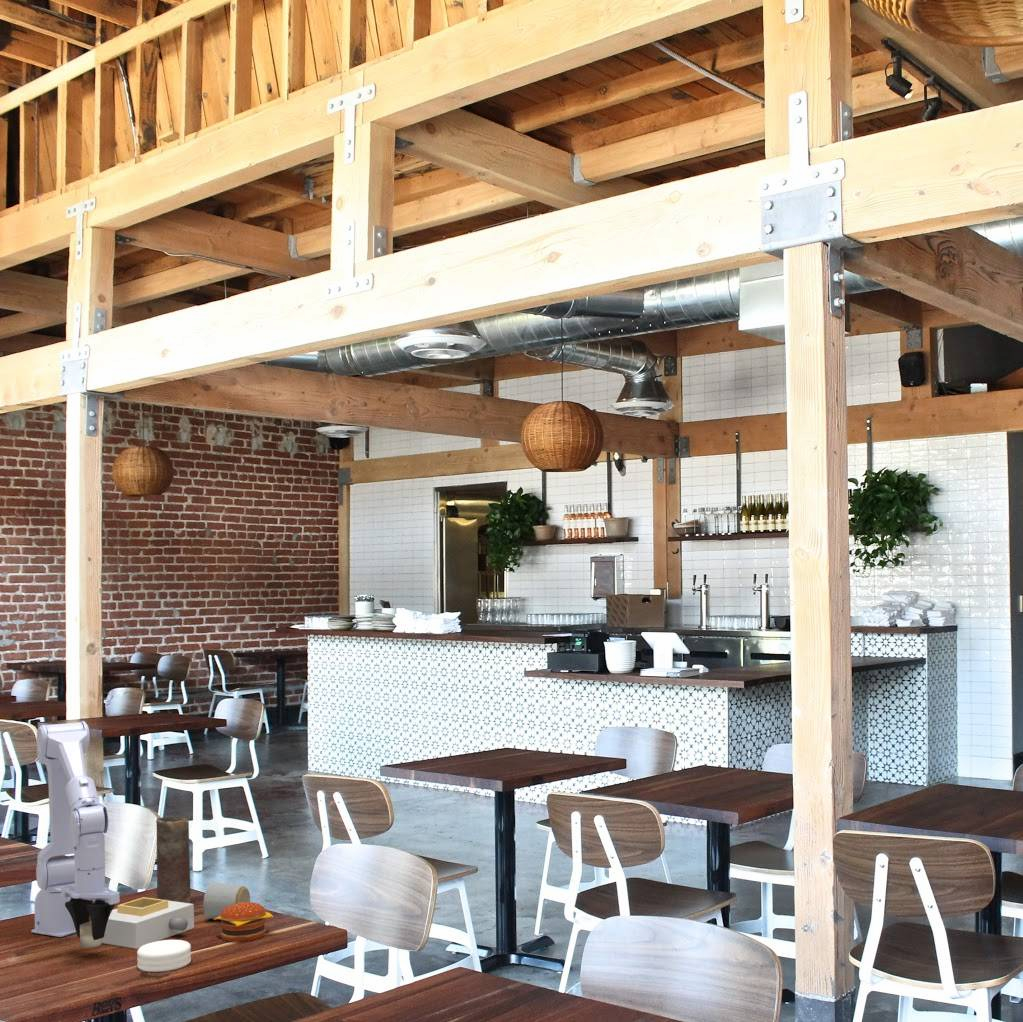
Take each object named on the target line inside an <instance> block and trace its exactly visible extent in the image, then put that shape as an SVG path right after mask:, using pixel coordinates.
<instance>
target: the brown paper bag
mask: <svg viewBox="0 0 1023 1022" xmlns="http://www.w3.org/2000/svg"><path fill="white" fill-rule="evenodd" d="M190 863H191V861H190V825H189V819H188V818H185V817H172V816H162V817H158V818H156V899H161V900H168V901H175V902H183V903H190V902H191V898H192V896H191V866H190Z"/></svg>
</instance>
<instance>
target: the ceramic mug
mask: <svg viewBox="0 0 1023 1022" xmlns="http://www.w3.org/2000/svg"><path fill="white" fill-rule="evenodd" d="M240 902H251V895H250V890H249V889H248V888H247V887H246V886H245V885H241V884H235V883H225V882H216V881H214V882H213V881H212V882H211V883H210V884H209V885H208V886H207V887H206V889H205V893H204V895H203V904H202V905H203V906H202V907H203V912H204V916H205V917H206V918H207V919H208V920H214V918H217V917H219V916H220V914H221V911H222V910H223V909H224V908H226V907H228V906H230V905H232V904H235V903H240Z"/></svg>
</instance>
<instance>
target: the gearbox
mask: <svg viewBox="0 0 1023 1022" xmlns="http://www.w3.org/2000/svg"><path fill="white" fill-rule="evenodd" d="M194 905H195V904H194V903H190V902H189V903H183V902H175V901H168V900H161V899H157V898H153V897H146V896H145V897H144V896H142V897H139V898H136V899H133V900H131V901H127V902H124V903H120V904H118V905H117V906H116V907H117V908H113V910H112V912H111V914H110V916H109V919H108V922H107V926H106V930H105V934H104V938H101V944H105V945H112V946H117V947H124V948H129V949H130V948H131V949H137V950H138V949H139V948H140V947H141V946H143V945H145V944H148V943H152V942H156V941H162V940H166V939H167V938H170V937H172V936H175V935H178V934H182V933H185V932H187V931H190V930H193V929H194V928H195V906H194Z"/></svg>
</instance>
